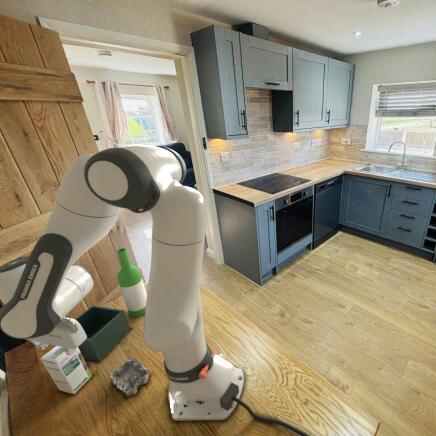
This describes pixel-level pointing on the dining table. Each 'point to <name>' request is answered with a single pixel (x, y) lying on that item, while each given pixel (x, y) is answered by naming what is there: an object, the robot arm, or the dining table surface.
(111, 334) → the waste bin
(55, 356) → the syrup box
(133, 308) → the wine bottle
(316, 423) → the dining table surface
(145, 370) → the grey jagged rectangular tray
